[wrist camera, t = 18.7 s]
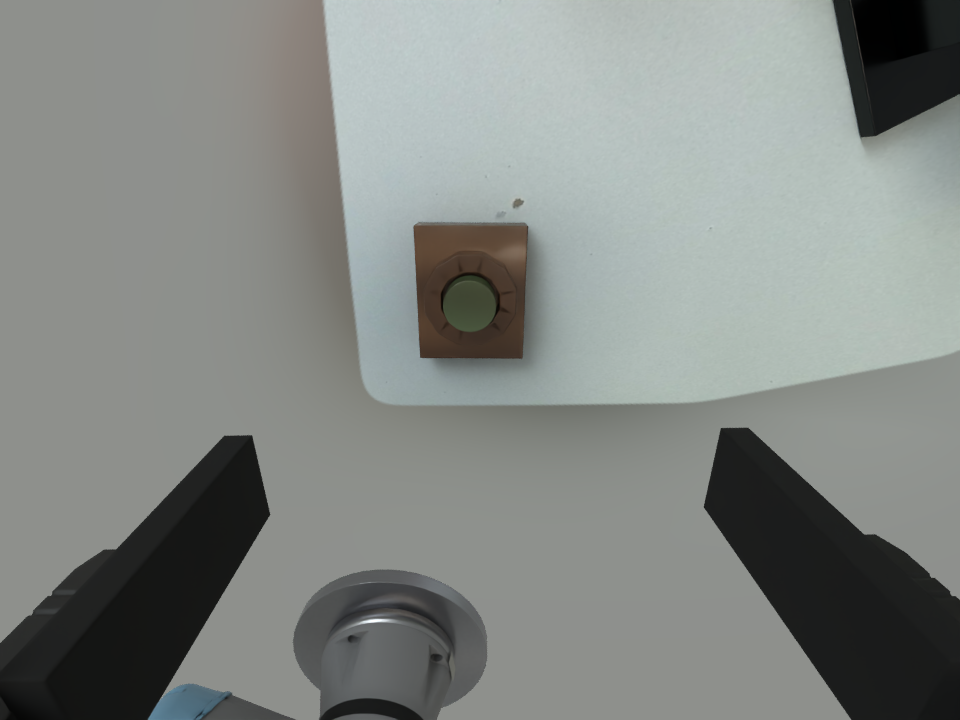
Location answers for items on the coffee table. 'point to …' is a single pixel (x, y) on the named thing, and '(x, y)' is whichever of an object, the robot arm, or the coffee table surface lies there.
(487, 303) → the button
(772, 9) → the coffee table surface
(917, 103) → the bracket
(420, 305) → the button block
